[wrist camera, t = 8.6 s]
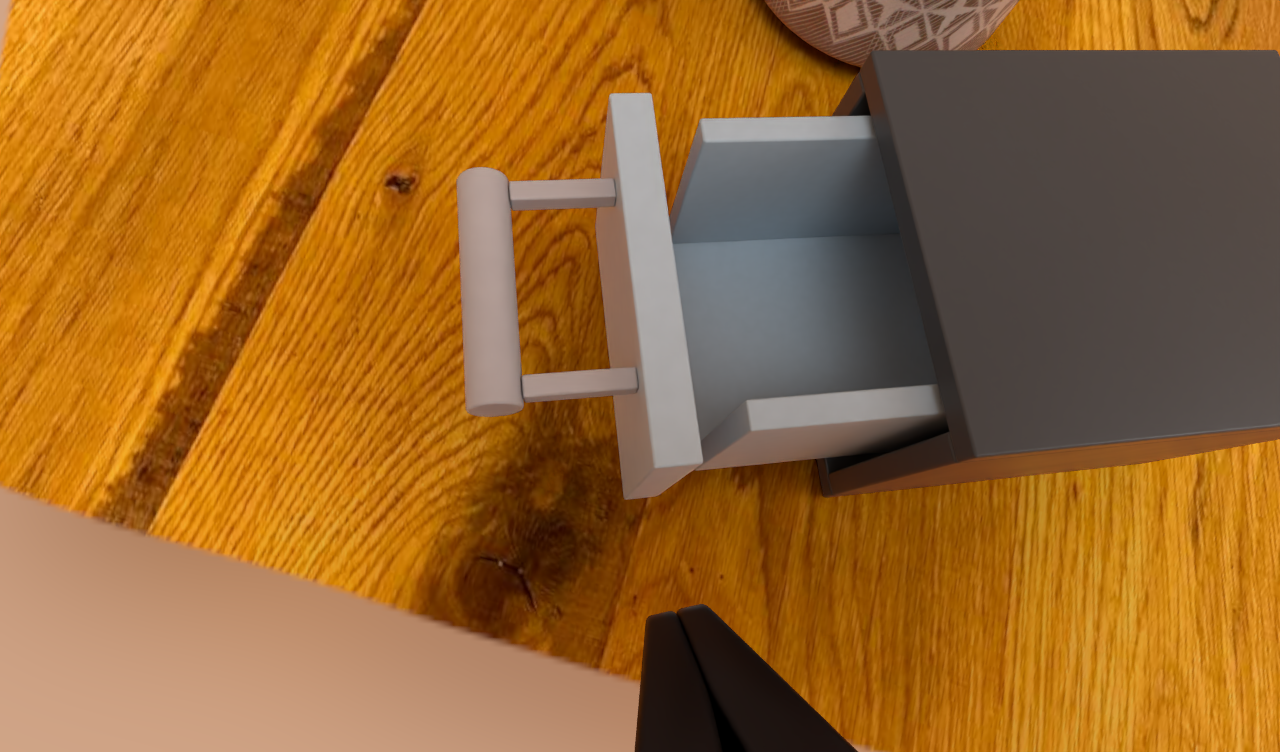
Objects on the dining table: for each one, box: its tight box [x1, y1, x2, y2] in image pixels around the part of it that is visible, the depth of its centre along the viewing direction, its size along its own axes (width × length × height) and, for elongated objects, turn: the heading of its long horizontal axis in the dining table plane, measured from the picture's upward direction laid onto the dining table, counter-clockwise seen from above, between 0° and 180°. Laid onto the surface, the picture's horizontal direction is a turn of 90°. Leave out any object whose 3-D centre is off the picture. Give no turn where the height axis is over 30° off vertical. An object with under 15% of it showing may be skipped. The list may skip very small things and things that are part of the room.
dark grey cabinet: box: [816, 50, 1280, 498], centre depth 22 cm, size 14×12×9 cm
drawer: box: [457, 93, 949, 500], centre depth 20 cm, size 17×10×7 cm, turn 97°
